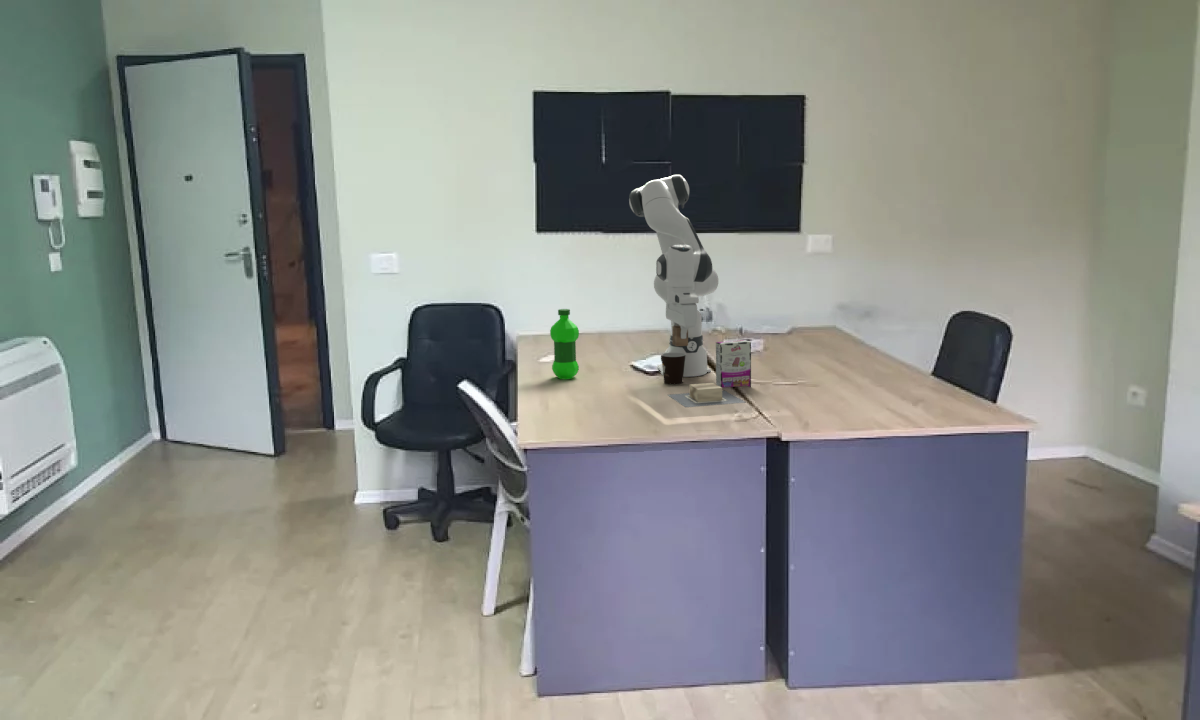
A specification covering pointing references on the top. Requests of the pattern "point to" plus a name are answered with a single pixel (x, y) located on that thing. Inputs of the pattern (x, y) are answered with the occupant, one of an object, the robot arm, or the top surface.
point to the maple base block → (705, 392)
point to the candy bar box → (733, 363)
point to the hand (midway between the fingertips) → (680, 336)
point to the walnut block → (678, 337)
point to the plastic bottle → (564, 346)
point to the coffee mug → (673, 367)
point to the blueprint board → (689, 402)
